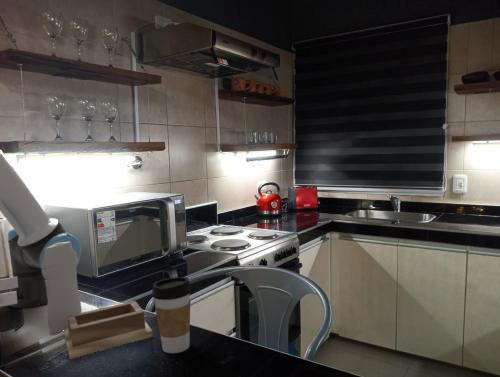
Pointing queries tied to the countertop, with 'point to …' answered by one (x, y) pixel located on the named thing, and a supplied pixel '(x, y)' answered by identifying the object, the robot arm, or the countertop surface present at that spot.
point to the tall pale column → (60, 285)
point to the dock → (105, 328)
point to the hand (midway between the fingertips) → (17, 288)
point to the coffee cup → (173, 313)
